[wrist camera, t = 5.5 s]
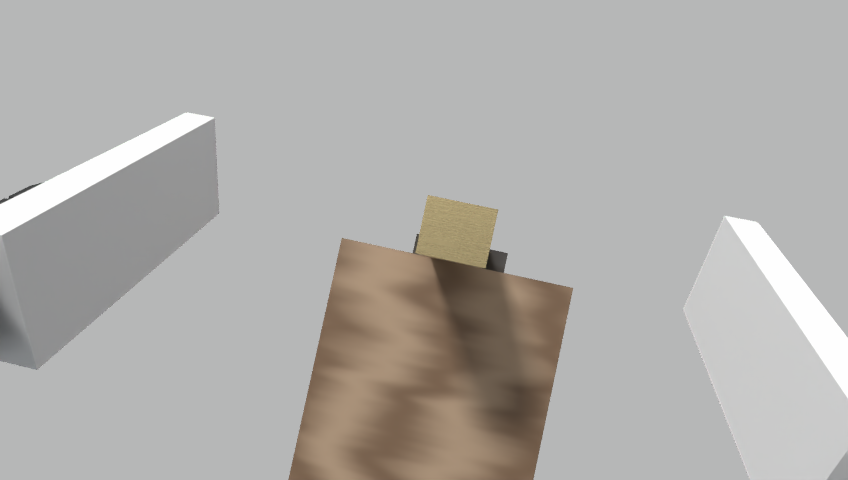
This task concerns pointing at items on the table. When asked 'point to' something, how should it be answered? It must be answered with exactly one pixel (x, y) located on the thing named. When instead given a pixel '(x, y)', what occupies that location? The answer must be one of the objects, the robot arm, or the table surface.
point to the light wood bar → (456, 231)
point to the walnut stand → (429, 370)
